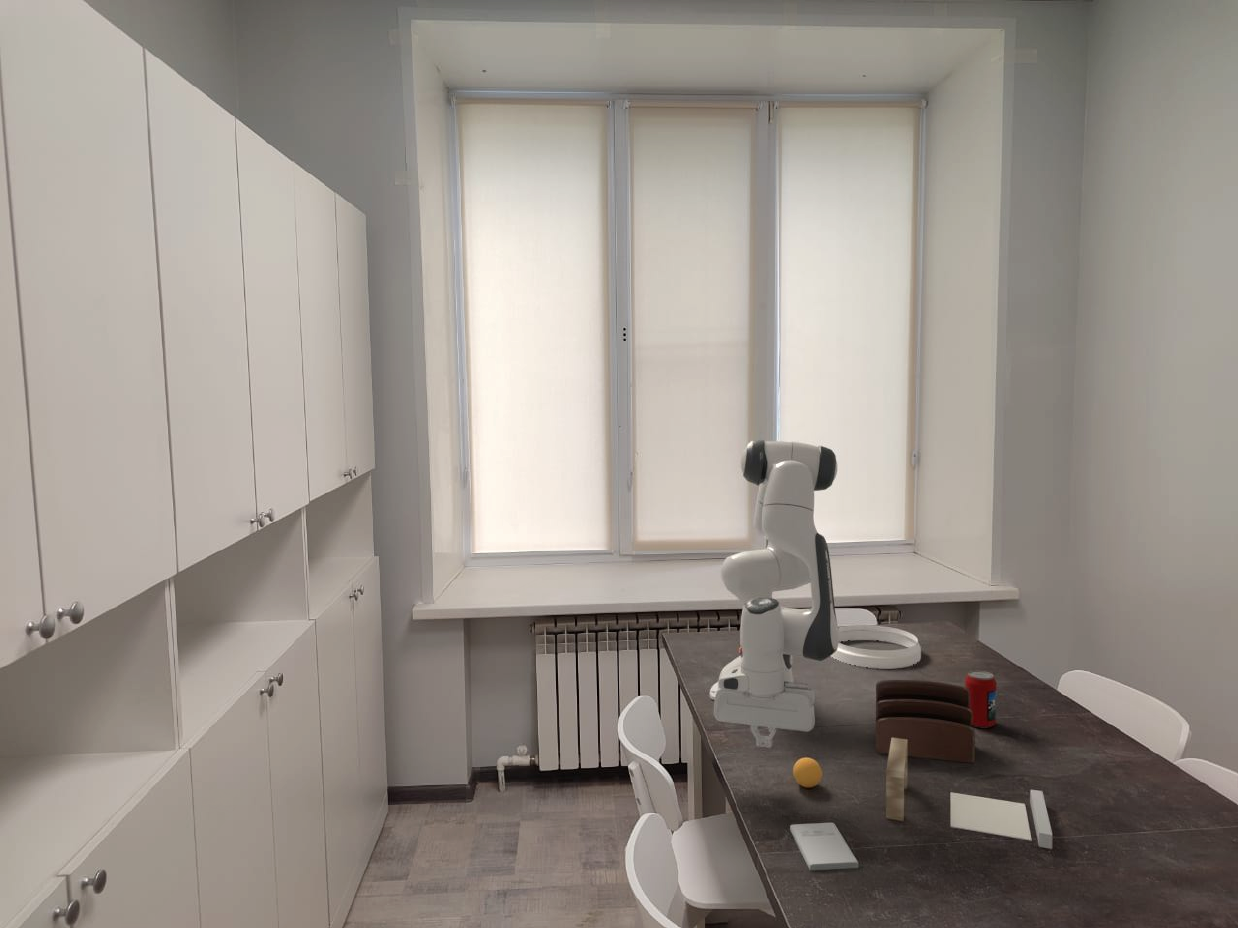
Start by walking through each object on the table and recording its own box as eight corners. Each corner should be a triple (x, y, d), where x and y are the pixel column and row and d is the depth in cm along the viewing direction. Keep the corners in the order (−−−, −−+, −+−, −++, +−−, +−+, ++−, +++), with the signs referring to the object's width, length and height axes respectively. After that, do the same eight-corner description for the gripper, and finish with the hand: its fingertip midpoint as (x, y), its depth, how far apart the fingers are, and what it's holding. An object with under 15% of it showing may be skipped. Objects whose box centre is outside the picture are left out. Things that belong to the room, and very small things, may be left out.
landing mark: (950, 826, 142) (950, 825, 142) (950, 793, 154) (950, 792, 154) (1031, 840, 137) (1031, 839, 137) (1024, 804, 149) (1025, 803, 149)
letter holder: (875, 735, 182) (875, 675, 181) (969, 744, 176) (970, 683, 175) (876, 753, 172) (876, 691, 171) (974, 764, 166) (975, 699, 165)
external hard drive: (809, 873, 130) (789, 832, 143) (858, 870, 131) (834, 829, 143) (809, 864, 130) (789, 823, 143) (858, 861, 131) (834, 821, 143)
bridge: (886, 817, 146) (886, 769, 145) (891, 781, 159) (891, 737, 159) (903, 820, 145) (903, 771, 144) (907, 784, 158) (907, 739, 157)
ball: (790, 789, 157) (790, 762, 157) (795, 777, 162) (795, 750, 162) (819, 794, 155) (819, 767, 154) (823, 781, 160) (823, 754, 160)
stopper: (1038, 846, 136) (1039, 832, 135) (1030, 801, 150) (1030, 789, 150) (1052, 848, 135) (1052, 834, 135) (1042, 803, 150) (1042, 791, 149)
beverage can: (999, 730, 182) (1000, 679, 181) (968, 728, 184) (968, 678, 183) (991, 718, 189) (992, 669, 188) (961, 717, 190) (962, 668, 189)
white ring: (813, 659, 235) (813, 641, 235) (844, 636, 257) (844, 619, 257) (906, 676, 220) (906, 656, 219) (930, 649, 242) (930, 632, 241)
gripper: (817, 679, 159) (818, 746, 160) (718, 670, 167) (720, 733, 168) (813, 689, 153) (814, 759, 154) (710, 679, 161) (712, 745, 162)
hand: (764, 745), depth 161 cm, fingers closed
